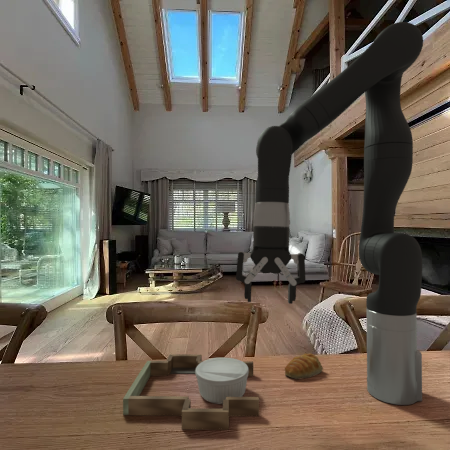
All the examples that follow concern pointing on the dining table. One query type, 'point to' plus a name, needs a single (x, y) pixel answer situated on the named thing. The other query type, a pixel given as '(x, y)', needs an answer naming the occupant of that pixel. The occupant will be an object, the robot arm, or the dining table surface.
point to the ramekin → (221, 379)
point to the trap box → (185, 397)
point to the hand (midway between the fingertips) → (269, 302)
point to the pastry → (303, 366)
